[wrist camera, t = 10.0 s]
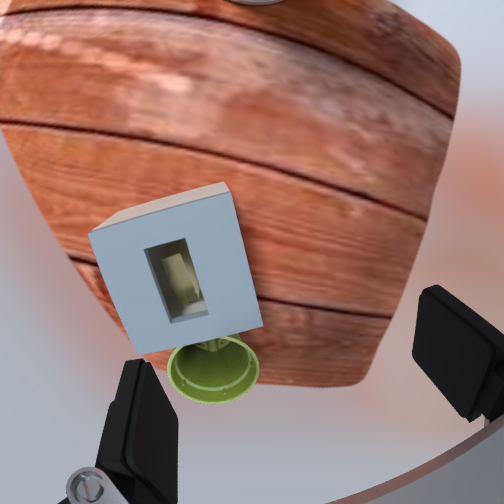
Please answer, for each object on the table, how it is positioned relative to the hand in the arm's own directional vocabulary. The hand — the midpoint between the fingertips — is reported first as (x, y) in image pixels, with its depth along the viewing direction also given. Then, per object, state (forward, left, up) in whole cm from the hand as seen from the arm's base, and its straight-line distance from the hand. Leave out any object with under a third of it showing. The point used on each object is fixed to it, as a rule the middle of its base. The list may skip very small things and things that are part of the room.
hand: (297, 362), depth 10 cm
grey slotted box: (+2, -6, -26) cm, 27 cm away
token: (+4, -7, -25) cm, 26 cm away
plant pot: (+13, -6, -26) cm, 30 cm away
